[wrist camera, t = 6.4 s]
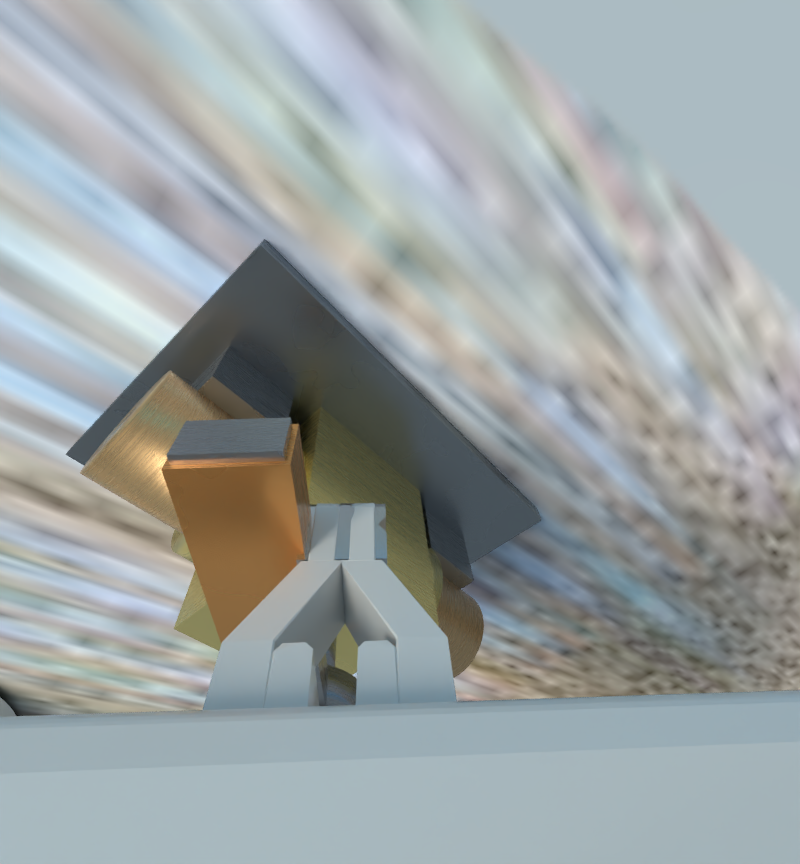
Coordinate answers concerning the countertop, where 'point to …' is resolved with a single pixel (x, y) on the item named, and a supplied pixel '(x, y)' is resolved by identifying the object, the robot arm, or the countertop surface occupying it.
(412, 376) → the countertop surface
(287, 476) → the lever
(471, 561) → the valve
